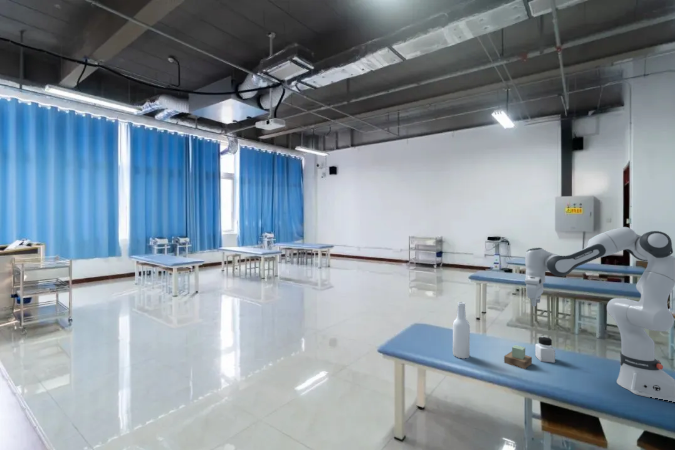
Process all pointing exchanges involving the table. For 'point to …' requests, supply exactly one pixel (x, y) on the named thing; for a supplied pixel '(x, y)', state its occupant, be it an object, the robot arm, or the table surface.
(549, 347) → the medicine bottle
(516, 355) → the sage green block
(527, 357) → the walnut block
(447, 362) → the table surface
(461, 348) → the alcohol
